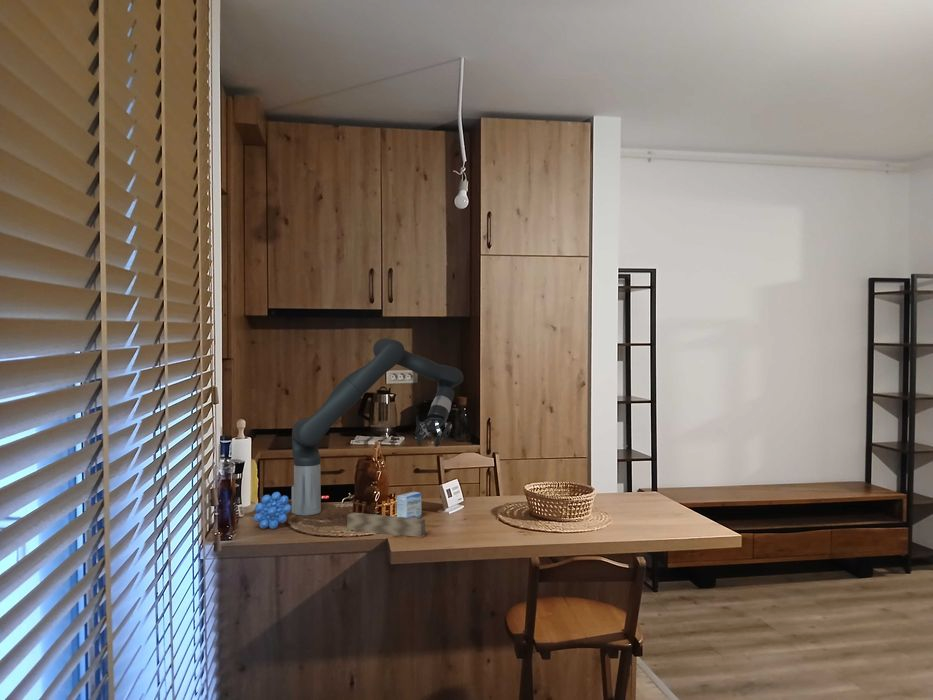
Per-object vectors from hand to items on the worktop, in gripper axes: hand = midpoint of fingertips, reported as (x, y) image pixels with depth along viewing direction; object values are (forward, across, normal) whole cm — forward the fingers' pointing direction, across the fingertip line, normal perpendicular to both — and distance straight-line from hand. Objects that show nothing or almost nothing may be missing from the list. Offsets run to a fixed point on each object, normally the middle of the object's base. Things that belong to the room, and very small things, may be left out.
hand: (427, 445), depth 243 cm
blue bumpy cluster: (+48, -35, -16) cm, 62 cm away
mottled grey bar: (+43, +2, -11) cm, 44 cm away
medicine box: (+30, +2, +2) cm, 30 cm away
